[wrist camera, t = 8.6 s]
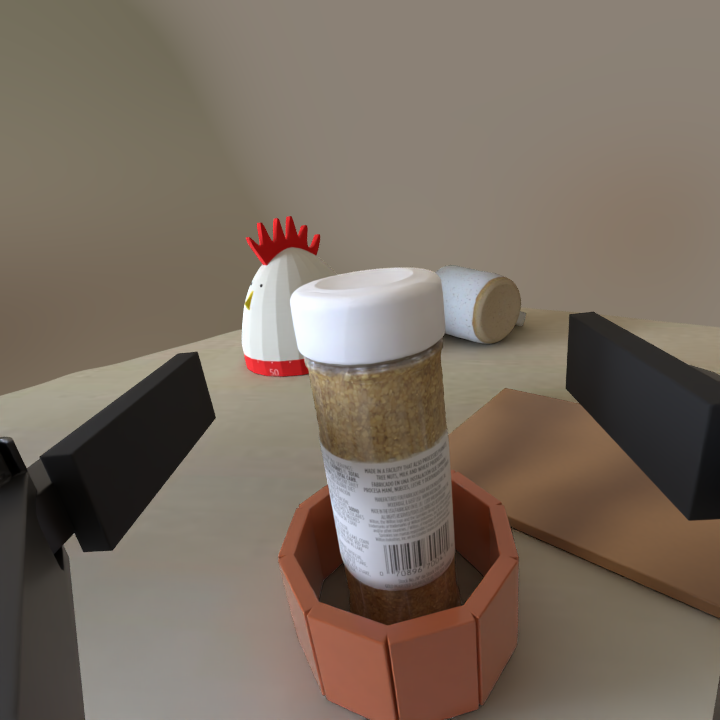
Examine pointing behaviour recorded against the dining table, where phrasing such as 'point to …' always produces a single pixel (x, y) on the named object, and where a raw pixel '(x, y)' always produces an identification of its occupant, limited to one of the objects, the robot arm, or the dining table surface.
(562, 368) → the dining table surface
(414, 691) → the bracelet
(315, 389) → the sprinkles bottle
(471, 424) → the wooden board
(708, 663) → the dining table surface
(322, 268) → the kitchen timer
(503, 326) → the ceramic mug
